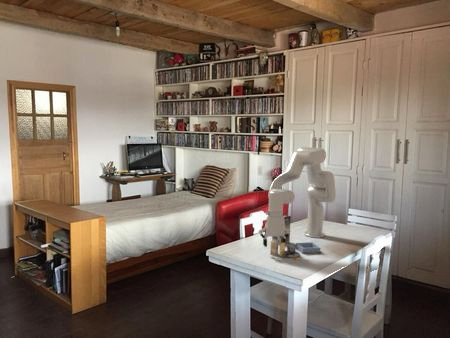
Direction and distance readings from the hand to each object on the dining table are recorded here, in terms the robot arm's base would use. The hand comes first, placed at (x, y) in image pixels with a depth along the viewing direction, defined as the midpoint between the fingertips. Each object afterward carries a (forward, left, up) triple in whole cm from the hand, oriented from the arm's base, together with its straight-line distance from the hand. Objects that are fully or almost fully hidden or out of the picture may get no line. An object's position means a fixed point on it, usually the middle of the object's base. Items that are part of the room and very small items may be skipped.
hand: (274, 245), depth 206 cm
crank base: (+4, +9, -5) cm, 11 cm away
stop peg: (0, 0, -5) cm, 5 cm away
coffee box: (-20, +11, -5) cm, 23 cm away
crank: (+4, +6, -4) cm, 8 cm away
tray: (-4, +21, -5) cm, 22 cm away
